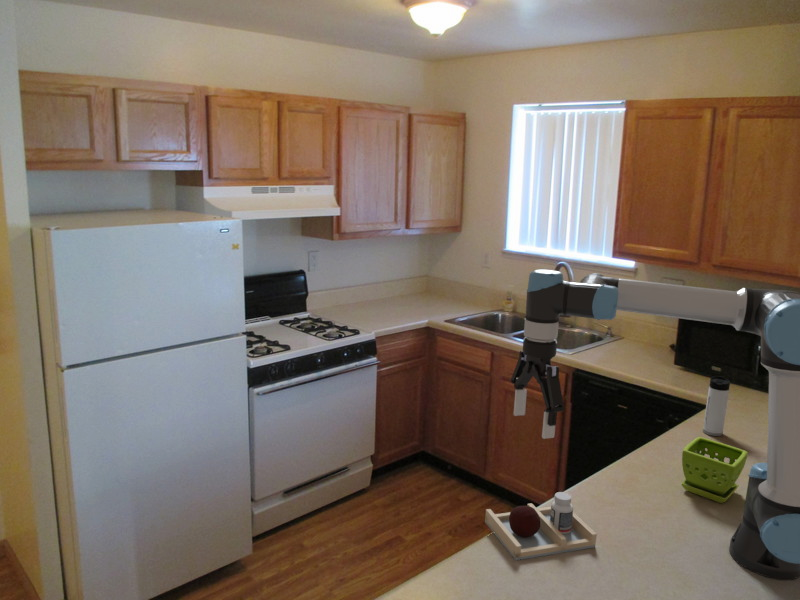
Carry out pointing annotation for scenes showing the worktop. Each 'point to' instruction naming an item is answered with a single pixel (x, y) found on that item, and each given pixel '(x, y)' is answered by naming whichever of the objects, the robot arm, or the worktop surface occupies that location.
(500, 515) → the open tray
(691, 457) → the flower pot
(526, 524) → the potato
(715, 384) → the travel mug
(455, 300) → the worktop surface
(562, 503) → the pill bottle
